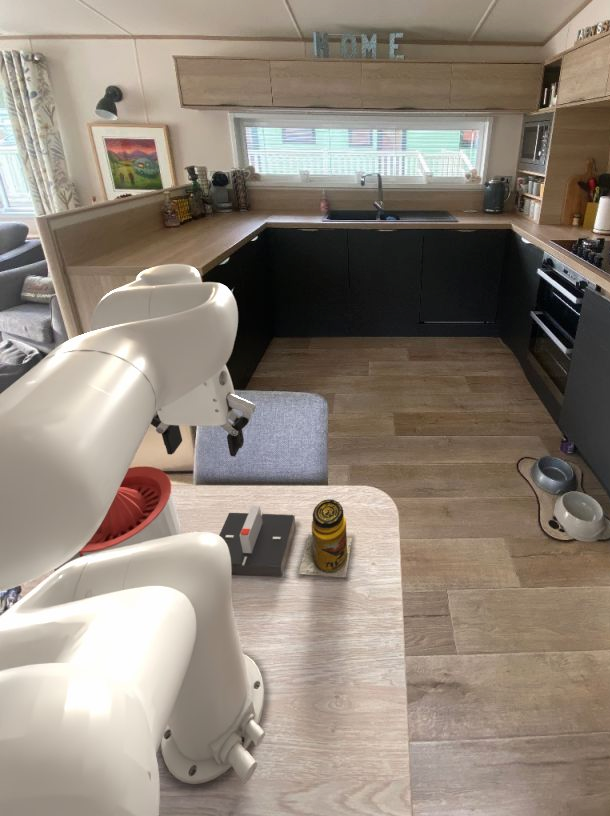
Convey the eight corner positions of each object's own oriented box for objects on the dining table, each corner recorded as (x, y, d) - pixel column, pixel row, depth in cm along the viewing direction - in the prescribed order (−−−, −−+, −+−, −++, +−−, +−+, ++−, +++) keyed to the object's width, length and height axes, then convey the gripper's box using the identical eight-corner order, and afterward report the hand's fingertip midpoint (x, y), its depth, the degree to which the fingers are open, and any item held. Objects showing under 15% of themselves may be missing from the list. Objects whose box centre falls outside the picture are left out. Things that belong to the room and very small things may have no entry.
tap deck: (295, 524, 77) (294, 513, 76) (282, 577, 68) (280, 566, 67) (231, 522, 78) (229, 511, 77) (208, 575, 68) (205, 563, 67)
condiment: (346, 577, 68) (344, 530, 63) (298, 574, 69) (293, 527, 64) (352, 538, 75) (350, 493, 70) (308, 535, 75) (304, 490, 71)
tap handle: (254, 522, 75) (251, 504, 73) (262, 522, 74) (259, 505, 73) (242, 553, 69) (239, 534, 67) (251, 553, 69) (248, 535, 67)
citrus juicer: (54, 605, 64) (10, 520, 56) (152, 519, 78) (127, 441, 70) (115, 655, 58) (74, 567, 50) (208, 551, 72) (188, 471, 64)
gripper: (255, 342, 57) (268, 433, 64) (140, 339, 58) (164, 430, 64) (236, 370, 50) (252, 469, 57) (105, 366, 51) (136, 465, 57)
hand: (205, 448), depth 61 cm, fingers open, 9 cm apart
